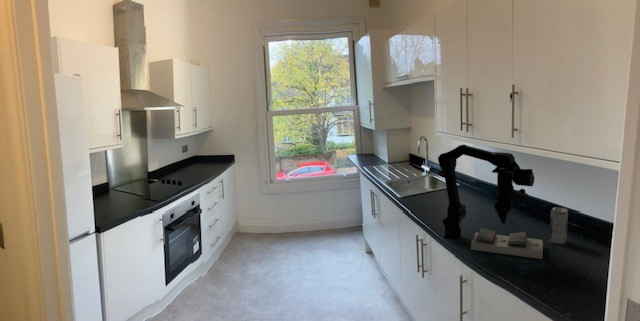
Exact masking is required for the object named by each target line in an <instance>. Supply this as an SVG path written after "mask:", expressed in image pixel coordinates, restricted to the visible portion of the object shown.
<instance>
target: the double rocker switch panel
mask: <svg viewBox="0 0 640 321" xmlns="http://www.w3.org/2000/svg"><path fill="white" fill-rule="evenodd" d="M478 233H479V232H475V234H474V235H473V238H472V240H471V241H470V240H463V243H464V244H470V250H472V251H479V252H487V253H488V252H489V253H495V254H501V255H509V256H518V257H524V258H525V257H526V258H530V259H531V258H532V259H538V260H539V259H540V260H543V258H544V257H543V253H544V252H543V250H544V249H543V245H544V244H543V239H539V238H538V239H537V238H529V237H526V239H525V244H508V239H509V235H502V234H495V235H494V238H493V241H492V242H489V241H486V240H483V239H479V238H477V235H478Z"/></svg>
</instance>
